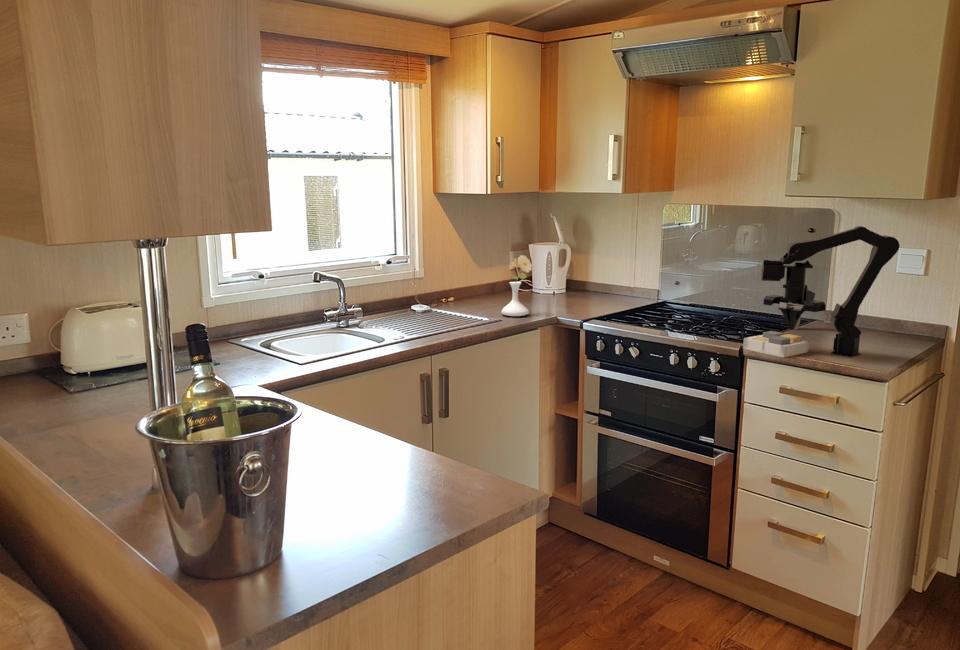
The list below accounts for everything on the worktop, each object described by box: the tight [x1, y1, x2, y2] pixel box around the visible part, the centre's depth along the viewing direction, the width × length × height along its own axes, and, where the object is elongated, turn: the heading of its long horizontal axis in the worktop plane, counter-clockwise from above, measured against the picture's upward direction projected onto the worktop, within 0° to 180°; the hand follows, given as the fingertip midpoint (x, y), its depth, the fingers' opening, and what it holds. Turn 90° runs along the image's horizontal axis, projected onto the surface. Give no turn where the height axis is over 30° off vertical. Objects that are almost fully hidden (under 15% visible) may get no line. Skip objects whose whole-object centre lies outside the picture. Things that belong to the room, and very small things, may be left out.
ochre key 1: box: [753, 337, 769, 342], centre depth 240 cm, size 5×5×3 cm
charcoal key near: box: [768, 336, 790, 345], centre depth 234 cm, size 5×5×3 cm
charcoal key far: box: [762, 330, 785, 338], centre depth 243 cm, size 5×5×3 cm
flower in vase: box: [501, 254, 533, 317], centre depth 300 cm, size 13×11×25 cm
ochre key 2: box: [780, 333, 802, 343], centre depth 238 cm, size 5×5×3 cm
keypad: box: [742, 334, 810, 358], centre depth 239 cm, size 15×13×4 cm
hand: (791, 329), depth 237 cm, fingers closed
